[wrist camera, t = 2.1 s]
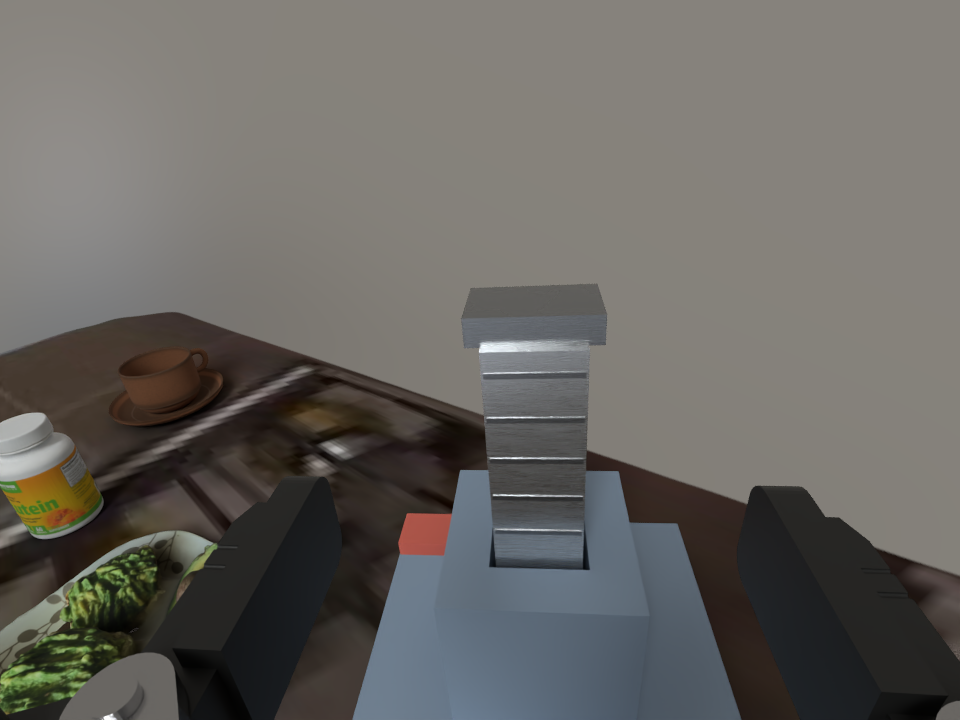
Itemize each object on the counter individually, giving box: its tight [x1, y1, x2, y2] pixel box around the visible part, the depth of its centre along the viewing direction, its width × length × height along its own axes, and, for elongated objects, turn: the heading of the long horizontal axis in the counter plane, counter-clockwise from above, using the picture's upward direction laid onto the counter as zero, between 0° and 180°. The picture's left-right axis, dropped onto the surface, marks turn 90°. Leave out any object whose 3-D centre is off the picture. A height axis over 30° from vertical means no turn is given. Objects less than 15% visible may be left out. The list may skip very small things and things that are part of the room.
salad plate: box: [0, 530, 218, 715], centre depth 31 cm, size 19×18×5 cm
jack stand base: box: [353, 470, 741, 720], centre depth 28 cm, size 20×20×11 cm
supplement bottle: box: [0, 413, 104, 539], centre depth 43 cm, size 5×5×10 cm
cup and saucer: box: [109, 347, 223, 426], centre depth 60 cm, size 12×12×6 cm
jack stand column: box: [461, 284, 607, 570], centre depth 25 cm, size 5×4×21 cm
